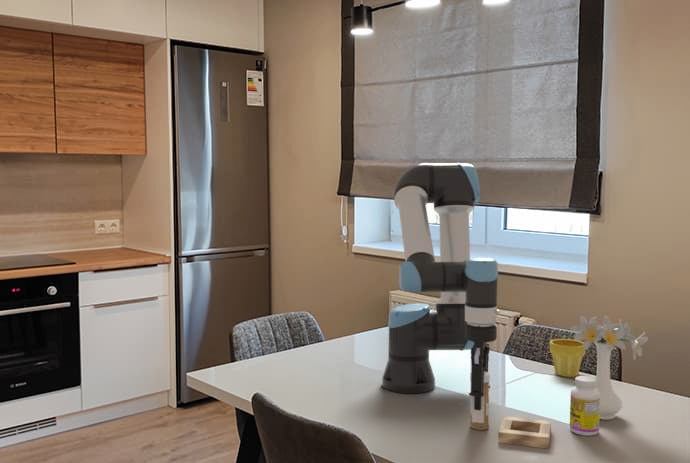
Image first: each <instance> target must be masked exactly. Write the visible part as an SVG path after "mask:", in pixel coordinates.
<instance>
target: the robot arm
mask: <svg viewBox="0 0 690 463" xmlns="http://www.w3.org/2000/svg"><path fill="white" fill-rule="evenodd" d="M480 192H481V188H480V181H479V176H478V173H477V170H476V168H475V167H474V165H472V164H471V163H460V162H451V163H449V162H448V163H447V162H446V163H445V162H442V163H439V162H438V163H428V162H423V163H418V164H415V165H412V166H411V167H409V168H408V169H407V170H405V171H404V172H403V173H402V174H401V176H400V177H399V179H398V180H397V182H396V184H395V186H394V191H393V202H394V205H395V207H396V209H398V211H399V212H398V213H399V220H400V227H401V230H400V231H401V236H402V243H403V244H402V245H403V253H404V260H405V261H403V262H401V263H399V266H398V268H399V270H398V272H399V273H398V280H399V288H400V290H402V291H403V292H408V293H409V292H410V293H435V292H436V293H437V292H438V293H440V298H438V300H437V301H436V302H435V308H432V309H431V307H430V305H429V304H427V303H407V304H404V305H403V304H402V305H398V306H395V307H393V308H391V310H390V312H389V313H388V324H387V327H388V354H387V355H388V358H387V363H386V366H385V369H384V371H383V374H382V380H381V381H382V382H381V386H382V387H383V388H384V389H385V390H388V391H389V392H390V391H391V392H395V393H399V394H421V393H427V392H430V391H432V390H434V389H435V388H436V378H435V376H434V371H433V368H432V366H431V362H430V351H466V350H467V351H469V350H470V355H471V356H470V359H471V361H470V362H471V363H470V364H471V369H470V370H471V372H470V374H471V380H470V392H468V396H470V397H471V396H472V422H476V423H484V393H483V388H484V371H485V372H488V373H489V361H490V358H489V357H490V351H491V350H490V348H491V347H490V344H489V343H491V342H495V341H496V340H497V337H498V335H497V334H498V332H497V329H498V326H497V324H496V323H497V321H498V318H497V317H498V316H497V315H500V310H499V309H498V283H499V282H498V279H499V278H498V277H499V270H498V261H497V260H496V259H494V258H489V257H471V248H470V247H471V245H470V244H471V242H470V238H471V237H470V214H471V213H472V212H473V211H474V209H475V204H477V203H478V202H479V201H480V198H481V195H480ZM427 204H433V211H435V213H437V215H438V218H439V220H438V222H439V256H440V257H439V261H436V259H435V258H436V257H435V252H434V246H433V240H432V235H431V230H430V223H429V217H428V211H427ZM490 388H491V384H489V389H490Z"/></svg>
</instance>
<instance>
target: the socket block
mask: <svg viewBox="0 0 690 463" xmlns="http://www.w3.org/2000/svg"><path fill="white" fill-rule="evenodd" d="M502 417H503V418H502V420H501V424H500V427H499V430H498V443H499V444H506V445H517V446H525V447H533V448H540V449H541V448H543V449H549V448H550V439H551V433H552V421H551V420H545V419H544V420H542V419H536V418H535V419H533V418H525V417H524V418H523V417H516V416H515V417H514V416H507V415H506V416H505V415H504V416H502Z"/></svg>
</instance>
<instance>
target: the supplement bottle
mask: <svg viewBox="0 0 690 463" xmlns="http://www.w3.org/2000/svg"><path fill="white" fill-rule="evenodd" d="M574 378H575V379H574V382H575V386H574V387H573V388H572V389H571V390H570V403H569V404H570V405H569V408H570V409H569V430H570V431H571V432H573V434H576V435H580V436H585V437H586V436H587V437H588V436H589V437H591V436H595V435H598V433H599V432H600V419H599V416H600V393H599V391H598V390H597V389H595V386H596V377H593V376H589V375H577V376H575V377H574Z"/></svg>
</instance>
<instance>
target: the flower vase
mask: <svg viewBox="0 0 690 463" xmlns="http://www.w3.org/2000/svg"><path fill="white" fill-rule="evenodd" d="M597 320H598V317H597V316H593V317H591V318H590V319H589V321H588V318H587V317H586V316H585V315H580V317H579V325H573V326H571V327H569V330H570V331H571V332H574V333H575V332H578V333H576V334H575V335H574V336H573V340H576V341H581V342H583V348H584V349H585V351H586V350H588V349H589V348H590V346H591V344H592V342H594V344H595V348H596V355H597V358H596V359H597V363H596V375H595V379H596V386H595V389H597V390H598V391H599V393H600V416H599V420H604V421H608V420H609V421H610V420H613V419H615V417H616V414H618V413H619V412H620V411H622V408H623V401H622V399H621V397H620V396H619V395H618V393H617V392H616V391H615V390H614V388H613V385H612V382H611V364H610V363H611V353H612V351H613V350H614V349H615V346H616V347H617V348H618V349H620V350H627V347H626V345H625V343H624V342H627V343H629V344H630V346H631V348H632V356H633V361H636V358H637V356H639V357H642V356H643V348H642V346H643V345H645V343H646V342H647V341H648V339H649V336H646V331H644V332H643V333H642V334H640V335H639V336H638V337H637V338H636V337H635V335H633V334H630V332H631V326H630V324H629V323H628V322H626V323H625V324H624V322H623V320H622V319H621V318H619V323H615V324H613V323H612V320H611V318H610V317H609V316H607V315H605V316H604V317H603V325H601V324H599V321H597Z"/></svg>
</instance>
